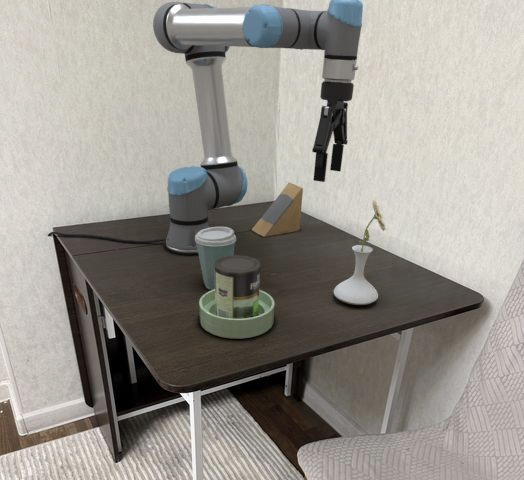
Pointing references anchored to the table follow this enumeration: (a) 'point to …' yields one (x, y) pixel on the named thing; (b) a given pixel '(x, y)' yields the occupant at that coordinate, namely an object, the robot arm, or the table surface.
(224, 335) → the bowl
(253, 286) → the coffee can
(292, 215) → the sandwich container
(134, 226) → the table surface
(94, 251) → the table surface
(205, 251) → the disposable coffee cup
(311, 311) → the table surface
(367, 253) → the flower in vase
